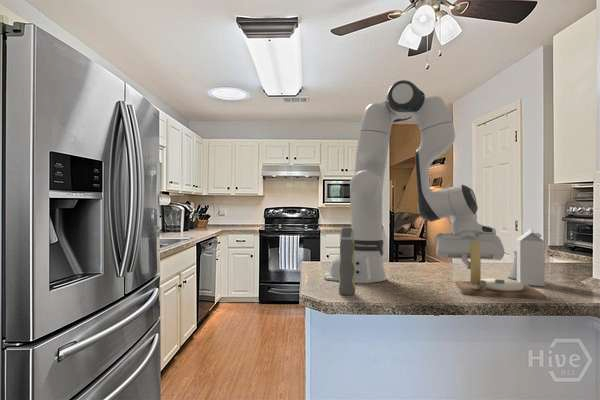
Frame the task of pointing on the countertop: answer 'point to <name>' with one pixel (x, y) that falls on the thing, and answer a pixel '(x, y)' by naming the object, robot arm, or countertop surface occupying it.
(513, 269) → the flask
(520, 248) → the milk carton
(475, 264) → the white and beige stand
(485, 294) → the base board
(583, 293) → the countertop surface
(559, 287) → the countertop surface
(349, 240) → the grey upright post
